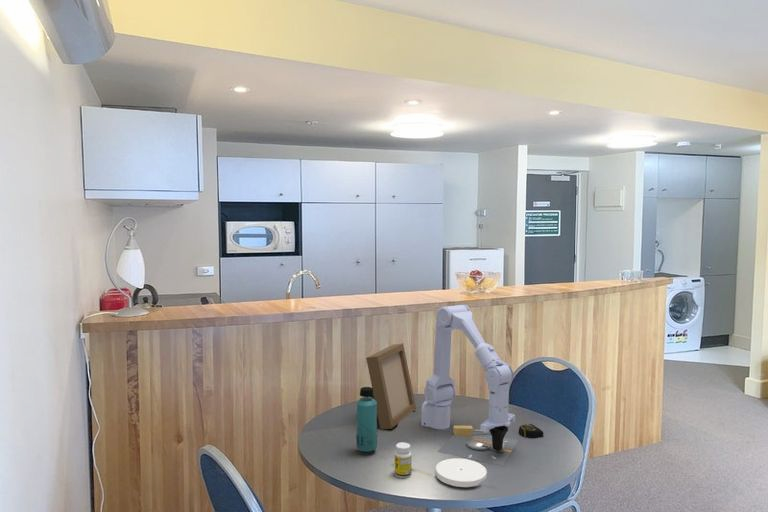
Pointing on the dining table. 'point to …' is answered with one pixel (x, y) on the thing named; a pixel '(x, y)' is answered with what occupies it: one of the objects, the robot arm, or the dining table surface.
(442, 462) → the plastic lid
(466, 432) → the screwdriver
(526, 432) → the tape measure
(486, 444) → the silver rounded piece
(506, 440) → the panel
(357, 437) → the beverage bottle
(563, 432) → the dining table surface
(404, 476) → the supplement bottle
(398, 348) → the photo frame
